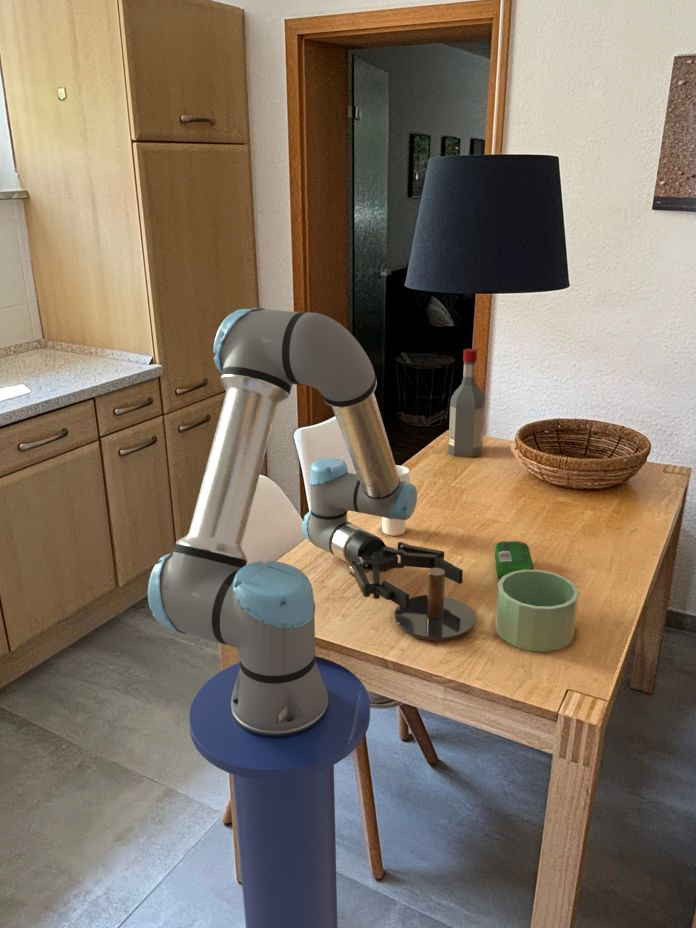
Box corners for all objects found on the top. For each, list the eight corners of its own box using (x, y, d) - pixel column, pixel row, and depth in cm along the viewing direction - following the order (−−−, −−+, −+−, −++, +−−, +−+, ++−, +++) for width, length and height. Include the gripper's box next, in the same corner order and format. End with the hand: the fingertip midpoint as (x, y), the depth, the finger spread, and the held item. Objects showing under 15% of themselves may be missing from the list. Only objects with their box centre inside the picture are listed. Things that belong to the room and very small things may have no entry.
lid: (381, 630, 138) (382, 580, 134) (413, 593, 150) (414, 546, 146) (459, 651, 132) (461, 599, 128) (485, 611, 144) (488, 562, 140)
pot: (485, 639, 135) (488, 597, 132) (507, 603, 146) (510, 563, 143) (563, 659, 129) (568, 616, 126) (580, 620, 141) (585, 579, 137)
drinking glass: (375, 536, 174) (375, 474, 168) (383, 523, 180) (383, 463, 174) (404, 539, 172) (405, 477, 166) (411, 527, 178) (412, 466, 172)
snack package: (496, 593, 150) (498, 570, 148) (492, 556, 164) (494, 534, 162) (533, 596, 149) (536, 572, 147) (526, 558, 163) (528, 535, 161)
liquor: (482, 448, 228) (488, 347, 217) (479, 458, 220) (484, 354, 209) (452, 445, 230) (456, 345, 219) (447, 455, 222) (451, 352, 211)
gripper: (404, 546, 163) (480, 585, 148) (309, 585, 148) (383, 631, 133) (405, 514, 160) (482, 549, 145) (308, 550, 145) (383, 593, 130)
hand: (435, 589), depth 139 cm, fingers open, 13 cm apart
